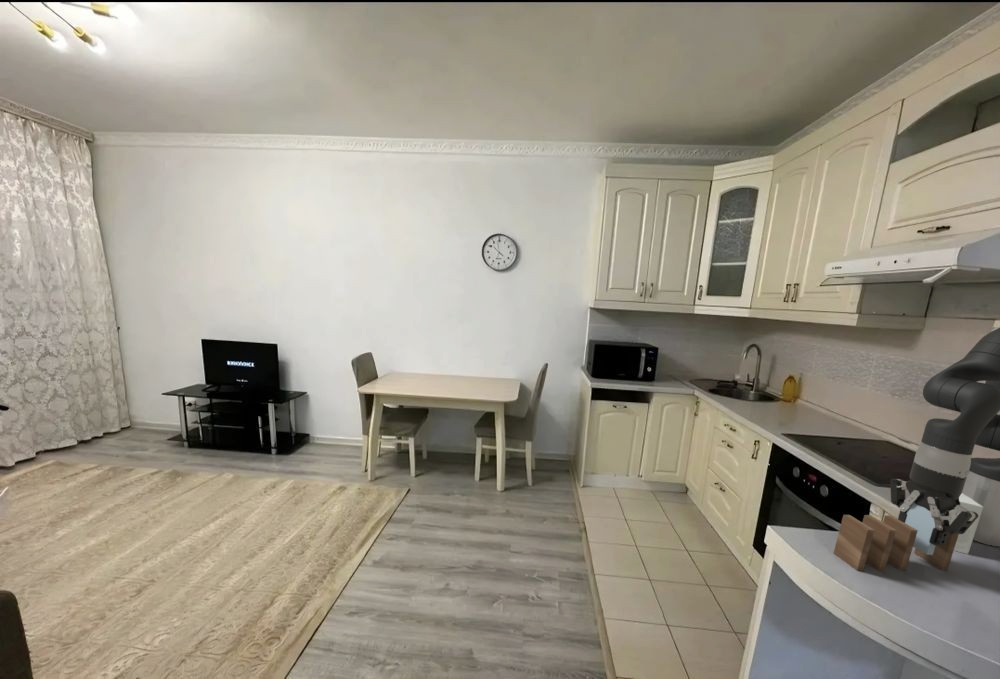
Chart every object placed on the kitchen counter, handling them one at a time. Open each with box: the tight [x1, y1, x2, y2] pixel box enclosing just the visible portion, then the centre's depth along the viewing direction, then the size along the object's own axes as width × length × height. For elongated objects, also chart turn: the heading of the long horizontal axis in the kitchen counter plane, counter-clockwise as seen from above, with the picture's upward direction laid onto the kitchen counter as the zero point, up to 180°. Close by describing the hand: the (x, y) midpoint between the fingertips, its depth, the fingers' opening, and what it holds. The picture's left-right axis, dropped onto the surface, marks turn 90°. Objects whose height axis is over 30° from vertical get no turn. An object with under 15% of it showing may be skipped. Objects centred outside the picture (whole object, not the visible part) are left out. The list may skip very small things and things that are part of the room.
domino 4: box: [904, 503, 945, 555], centre depth 80 cm, size 2×5×10 cm, turn 6°
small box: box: [950, 493, 983, 555], centre depth 90 cm, size 8×6×13 cm
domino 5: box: [913, 533, 959, 571], centre depth 82 cm, size 2×5×10 cm, turn 6°
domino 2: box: [861, 514, 896, 571], centre depth 80 cm, size 2×5×10 cm, turn 6°
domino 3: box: [882, 514, 918, 571], centre depth 80 cm, size 2×5×10 cm, turn 6°
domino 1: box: [833, 514, 874, 572], centre depth 79 cm, size 2×5×10 cm, turn 6°
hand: (919, 535), depth 80 cm, fingers closed on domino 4, 5 cm apart
